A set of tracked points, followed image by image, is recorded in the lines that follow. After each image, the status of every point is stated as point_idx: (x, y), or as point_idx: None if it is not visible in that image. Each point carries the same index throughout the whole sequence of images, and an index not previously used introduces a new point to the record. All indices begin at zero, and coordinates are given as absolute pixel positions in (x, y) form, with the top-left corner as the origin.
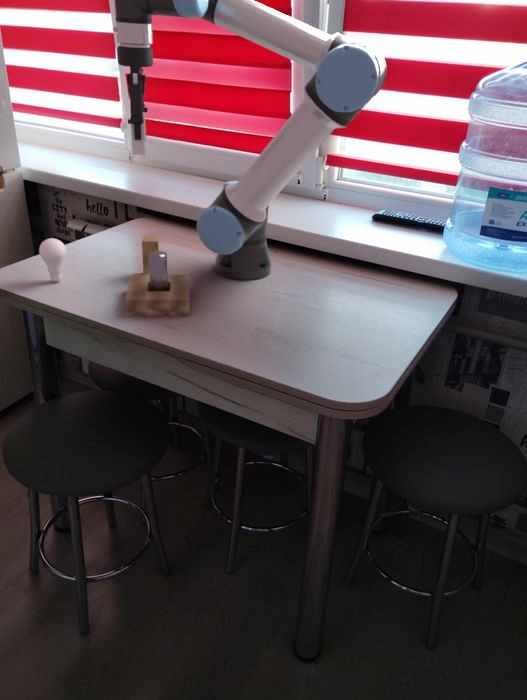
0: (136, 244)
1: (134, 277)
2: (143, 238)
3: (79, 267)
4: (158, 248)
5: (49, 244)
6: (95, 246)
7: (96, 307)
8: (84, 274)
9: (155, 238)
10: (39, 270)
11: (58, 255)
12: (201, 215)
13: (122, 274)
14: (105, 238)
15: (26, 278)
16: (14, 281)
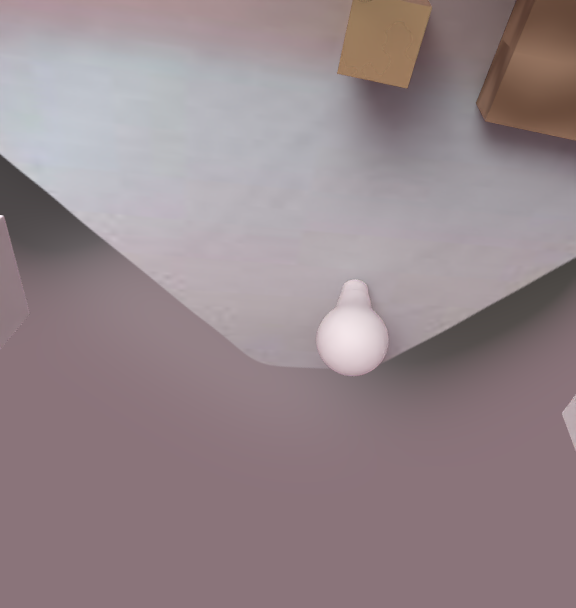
0: (69, 29)
1: (519, 112)
2: (371, 75)
3: (269, 229)
4: (428, 1)
5: (373, 365)
6: (105, 173)
7: (556, 214)
8: (321, 221)
9: (385, 15)
10: (277, 311)
11: (386, 330)
12: None
13: (344, 117)
14: (29, 135)
15: None
16: None
